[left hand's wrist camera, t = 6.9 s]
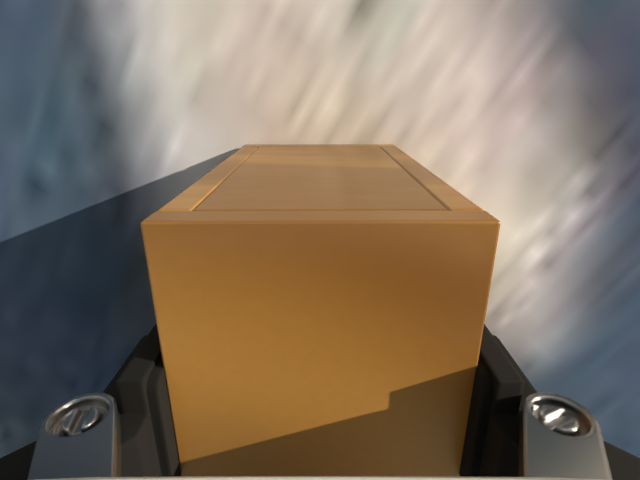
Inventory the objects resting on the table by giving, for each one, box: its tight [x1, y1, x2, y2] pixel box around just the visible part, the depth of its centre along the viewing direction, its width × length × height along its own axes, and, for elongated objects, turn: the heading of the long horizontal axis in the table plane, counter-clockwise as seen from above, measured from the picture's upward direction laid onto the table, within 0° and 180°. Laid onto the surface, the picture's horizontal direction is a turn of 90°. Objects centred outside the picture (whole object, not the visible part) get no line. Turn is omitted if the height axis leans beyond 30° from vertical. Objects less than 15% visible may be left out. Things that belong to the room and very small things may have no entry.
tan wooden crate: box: [141, 145, 500, 477], centre depth 15 cm, size 18×6×11 cm, turn 0°
